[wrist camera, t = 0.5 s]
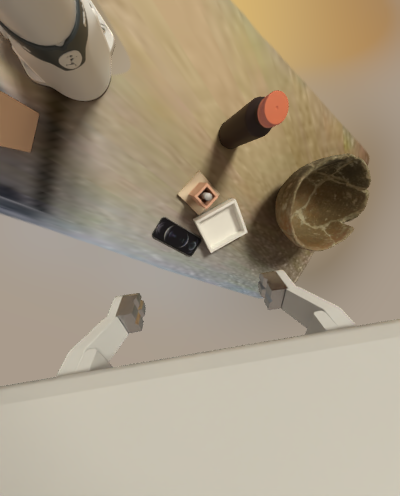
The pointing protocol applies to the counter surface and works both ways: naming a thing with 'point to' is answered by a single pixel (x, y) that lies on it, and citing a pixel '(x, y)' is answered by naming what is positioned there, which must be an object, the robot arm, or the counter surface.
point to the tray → (221, 224)
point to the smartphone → (176, 236)
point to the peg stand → (207, 196)
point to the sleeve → (198, 191)
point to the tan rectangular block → (16, 124)
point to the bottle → (254, 120)
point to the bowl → (323, 201)
